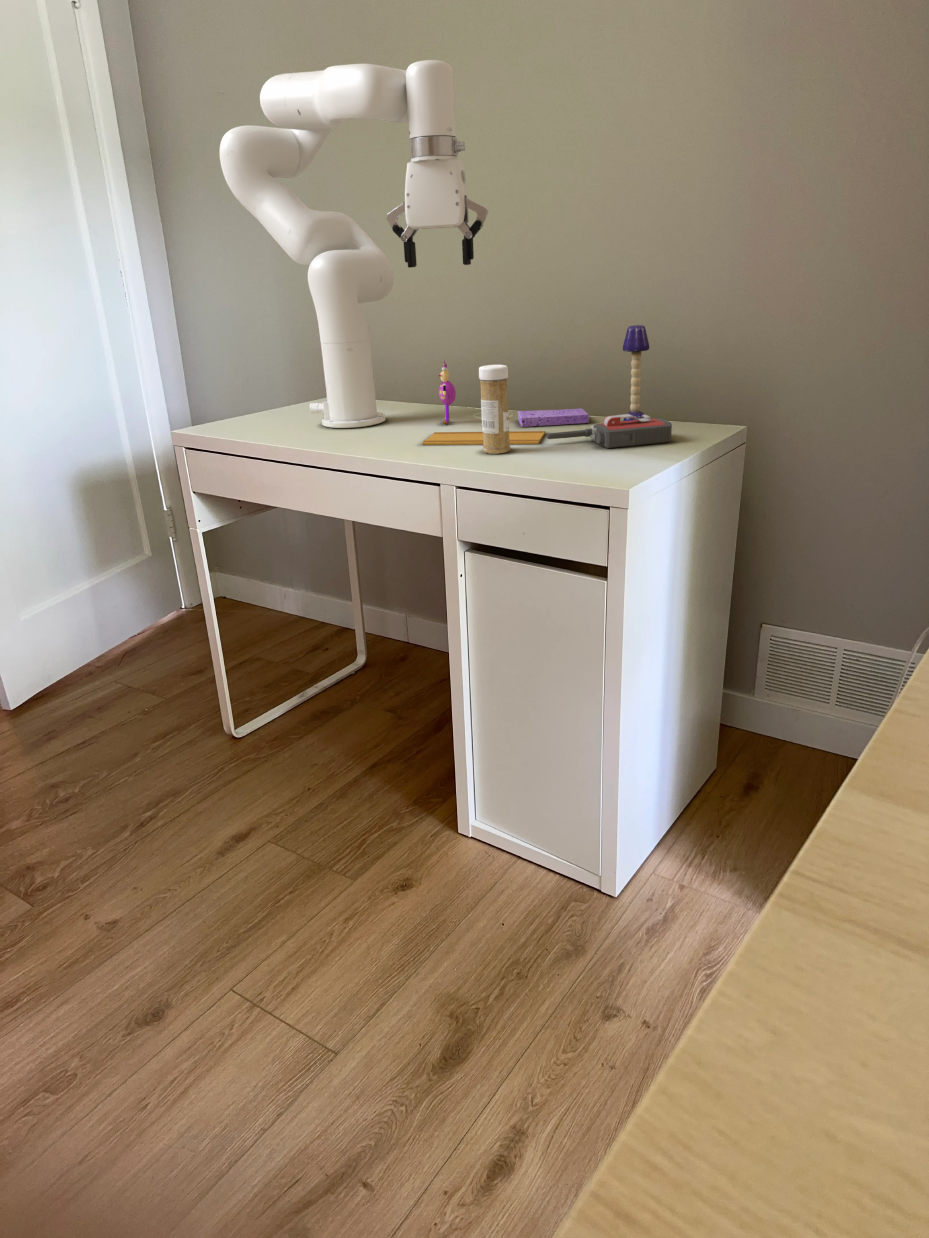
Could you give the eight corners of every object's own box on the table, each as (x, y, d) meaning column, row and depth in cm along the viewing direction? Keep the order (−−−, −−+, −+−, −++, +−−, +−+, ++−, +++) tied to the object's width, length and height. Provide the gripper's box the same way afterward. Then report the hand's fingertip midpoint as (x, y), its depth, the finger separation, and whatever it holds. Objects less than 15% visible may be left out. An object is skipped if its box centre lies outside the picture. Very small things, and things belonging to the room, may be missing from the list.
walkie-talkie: (657, 432, 145) (545, 443, 142) (658, 406, 143) (544, 416, 140) (680, 442, 137) (561, 453, 134) (681, 414, 136) (560, 425, 132)
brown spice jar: (516, 451, 137) (513, 365, 132) (492, 456, 135) (489, 368, 130) (499, 447, 141) (496, 363, 136) (476, 451, 139) (472, 366, 133)
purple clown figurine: (442, 418, 169) (438, 356, 164) (458, 418, 169) (454, 355, 164) (439, 429, 158) (435, 362, 154) (456, 428, 158) (452, 361, 154)
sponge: (517, 420, 162) (517, 410, 162) (583, 417, 162) (583, 407, 161) (520, 427, 156) (520, 417, 155) (589, 423, 156) (589, 413, 155)
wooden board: (422, 445, 146) (422, 442, 146) (435, 434, 154) (435, 431, 154) (538, 444, 142) (538, 441, 142) (545, 433, 150) (545, 430, 150)
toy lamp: (649, 423, 153) (652, 326, 146) (623, 425, 153) (625, 327, 146) (644, 419, 157) (647, 324, 151) (619, 420, 157) (620, 325, 151)
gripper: (490, 150, 139) (493, 263, 146) (389, 158, 143) (397, 267, 150) (480, 145, 133) (484, 264, 140) (375, 153, 137) (384, 269, 143)
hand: (439, 266), depth 145 cm, fingers open, 9 cm apart
